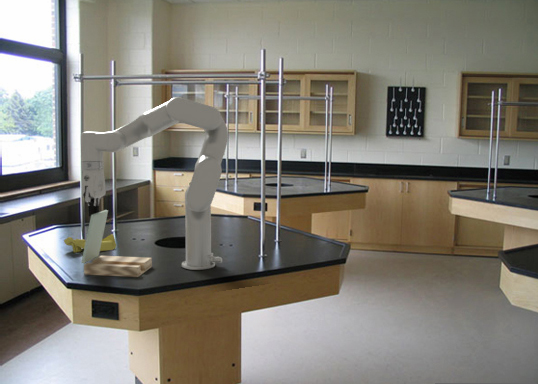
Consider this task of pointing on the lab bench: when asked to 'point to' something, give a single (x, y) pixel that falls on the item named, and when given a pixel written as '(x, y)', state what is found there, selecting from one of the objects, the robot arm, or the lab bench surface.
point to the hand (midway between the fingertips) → (93, 216)
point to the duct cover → (94, 236)
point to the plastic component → (79, 244)
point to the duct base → (118, 266)
